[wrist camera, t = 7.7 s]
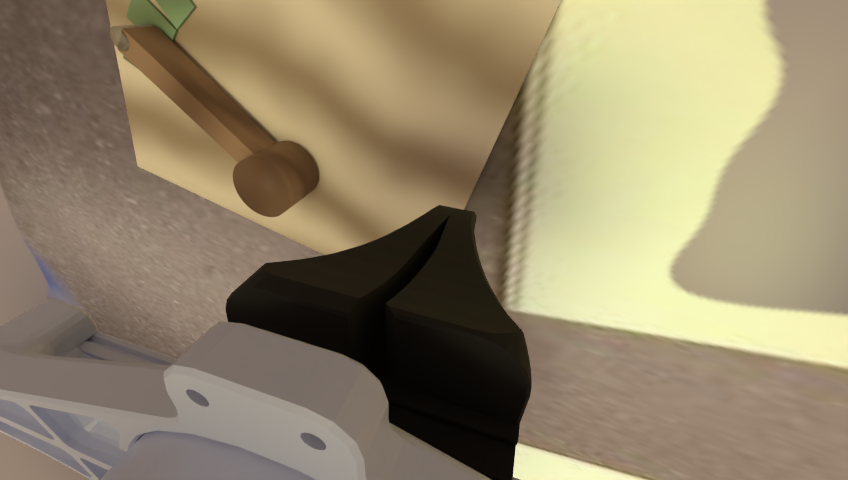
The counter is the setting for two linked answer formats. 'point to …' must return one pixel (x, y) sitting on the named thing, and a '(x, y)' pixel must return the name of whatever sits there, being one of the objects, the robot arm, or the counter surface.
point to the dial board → (341, 100)
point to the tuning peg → (222, 123)
